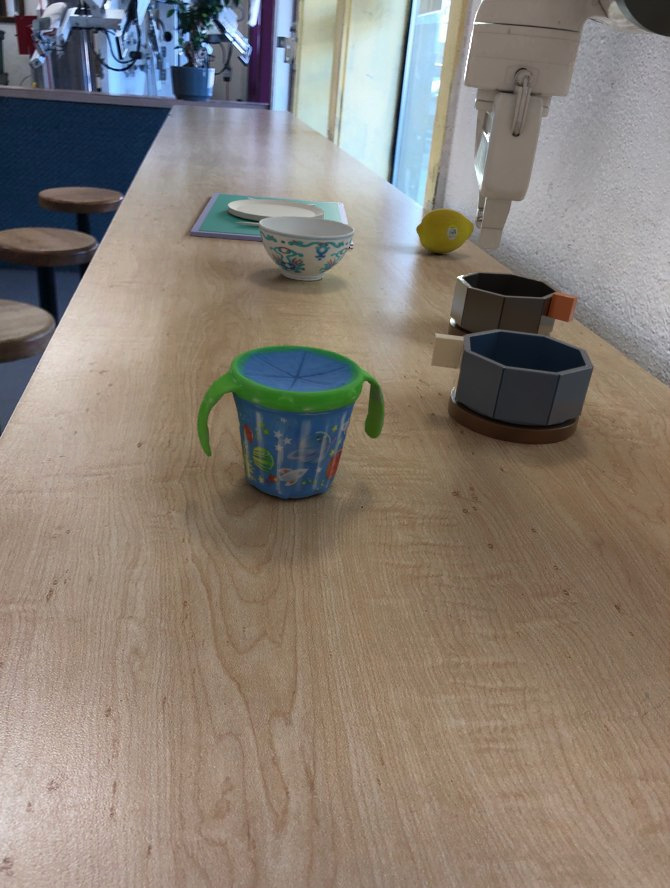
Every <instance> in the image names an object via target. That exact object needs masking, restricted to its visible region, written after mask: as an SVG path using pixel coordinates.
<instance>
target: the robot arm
mask: <svg viewBox="0 0 670 888" xmlns="http://www.w3.org/2000/svg"><path fill="white" fill-rule="evenodd" d="M588 20H591V21H593V22H596V23H599V24H602V25H605V26H606V27H608V28H610V29H612V30H614V31H616V32H619V33H623V34H630V35H636V34H637V35H639V34H640V35H658V36H663V37H666V38H670V0H481V2H480V4H479V7H478V8H477V11H476V13H475V16H474V19H473V26H472V31H471V36H470V42H469V49H468V54H467V60H466V66H465V72H464V78H463V82H462V83H463V86H464V87H466V88H467V87H468V88H473V89H477V90H476V93H475V100H474V105H473V109H474V110H475V111H476V110H477V115H476V116H477V117H476V127H475V138H474V139H475V141H474V155H473V156H474V157H473V159H474V160H473V161H474V162H473V163H474V171H475V175H476V179H477V184H478V187H479V188H478V199H477V209H476V213H475V219H474V224H475V227H476V228H477V229H479V235H478V240H477V242H478V246H479V247H480V248H481V249H483V250H493V251H495V250H497V249H499V247H500V246H501V245H500V244H501V240H502V235H503V232H504V231H503V230H504V228H505V225H506V222H507V219H508V217H509V214H510V211H511V207H512V202H522V201H523V200H525V198H526V195H527V194H528V190H529V187H530V183H531V178H532V173H533V168H534V162H535V157H536V153H537V147H538V143H539V137H540V131H541V128H542V127H541V126H542V120H543V118H547V117H548V116H549V112H550V106H551V102H552V98H553V97H567V96H568V95H569V92H570V87H571V82H572V78H573V74H574V68H575V65H576V61H577V57H578V52H579V47H580V43H581V39H582V33H583V31H584V26H585V23H586V22H587V21H588Z"/></svg>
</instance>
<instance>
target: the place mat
mask: <svg viewBox="0 0 670 888" xmlns="http://www.w3.org/2000/svg"><path fill="white" fill-rule="evenodd" d="M279 216H299V217H312V218H320V219H327V220H332V221H337V222H340V223H344V224H347V225H349V222H348V217H347V214H346V209H345V206H344V203H343V202H335V201H334V202H333V201H319V200H308V199H296V198H283V197H270V196H258V195H247V194H233V193H222V192H220V193H219V192H214V193H213V194H212V196H211V198H210V199H209V200H208V203H207V204H206V206H205V207H204V209H203V210H202V211H201V213H200V215H199V217H198V218H197V220H196V221H195V223H194V225H193V227H192V228H191V229H190V231H189V232H190V235H189V236H190V237H191V236H192V237H201V238H213V239H215V238H216V239H228V240H240V241H253V242H262V239H261V235H260V230H259V221H260V220H262V219H265V218H270V217H279ZM350 246H353V247H354V242H353V240H352V241H351V244H350Z"/></svg>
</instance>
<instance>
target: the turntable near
mask: <svg viewBox="0 0 670 888" xmlns="http://www.w3.org/2000/svg"><path fill="white" fill-rule="evenodd" d="M447 409H448V412H449V415H450V416H451V417H452V418H453V419H454V420H455V421H456V422H458V423H459V424H460V425H462V426H464V427H465V428H467V429H470V430H472V431H473V432H476V433H479V434H481V435H484V436H486V437H490V438H493V439H497V440H501V441H506V442H512V443H519V444H520V443H521V444H534V445H535V444H540V445H541V444H543V445H544V444H552V443H558V442H562V441H564V440H567V439H569V438H571V437H572V436H573V435H574V434H575V432H576V430H577V427H578V424H579V420H580V416H579V417H576V418H572V419H569V420H567V421H565V422H562V423H559V424H555V425H547V426H529V425H519V424H513V423H507V422H503V421H499V420H495V419H492V418H489V417H486V416H483V415H481V414H479V413H476V412H474V411H473V410H471V409H469V408H468V407H466V406H465V405H464V404H463V403H461V402H459V401H457V400H456V399H455V386H453V388H452V389H451V390H450V394H449V399H448V405H447Z"/></svg>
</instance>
